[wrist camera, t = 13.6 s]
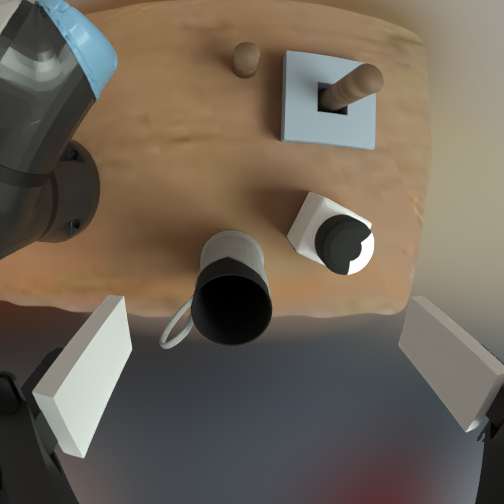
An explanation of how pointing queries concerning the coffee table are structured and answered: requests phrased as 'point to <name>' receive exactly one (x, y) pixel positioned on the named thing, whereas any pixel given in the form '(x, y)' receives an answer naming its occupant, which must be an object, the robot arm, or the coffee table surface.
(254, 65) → the short pin
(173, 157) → the coffee table surface
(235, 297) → the grey black mug
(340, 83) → the long pin
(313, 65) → the collar plate
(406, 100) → the coffee table surface
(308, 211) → the medicine bottle
